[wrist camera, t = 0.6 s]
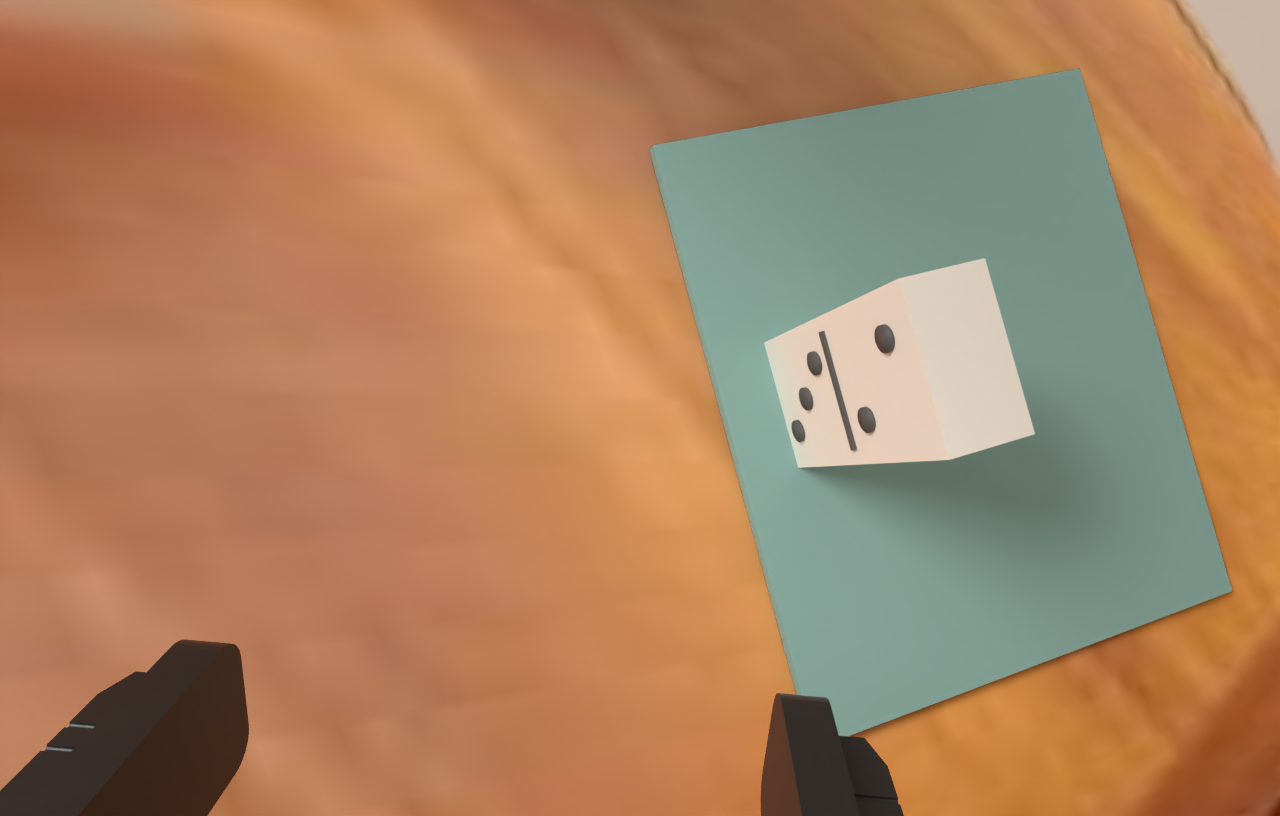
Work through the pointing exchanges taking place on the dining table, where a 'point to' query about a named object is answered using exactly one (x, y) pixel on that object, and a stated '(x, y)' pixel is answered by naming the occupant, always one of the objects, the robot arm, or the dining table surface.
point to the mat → (974, 483)
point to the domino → (902, 374)
